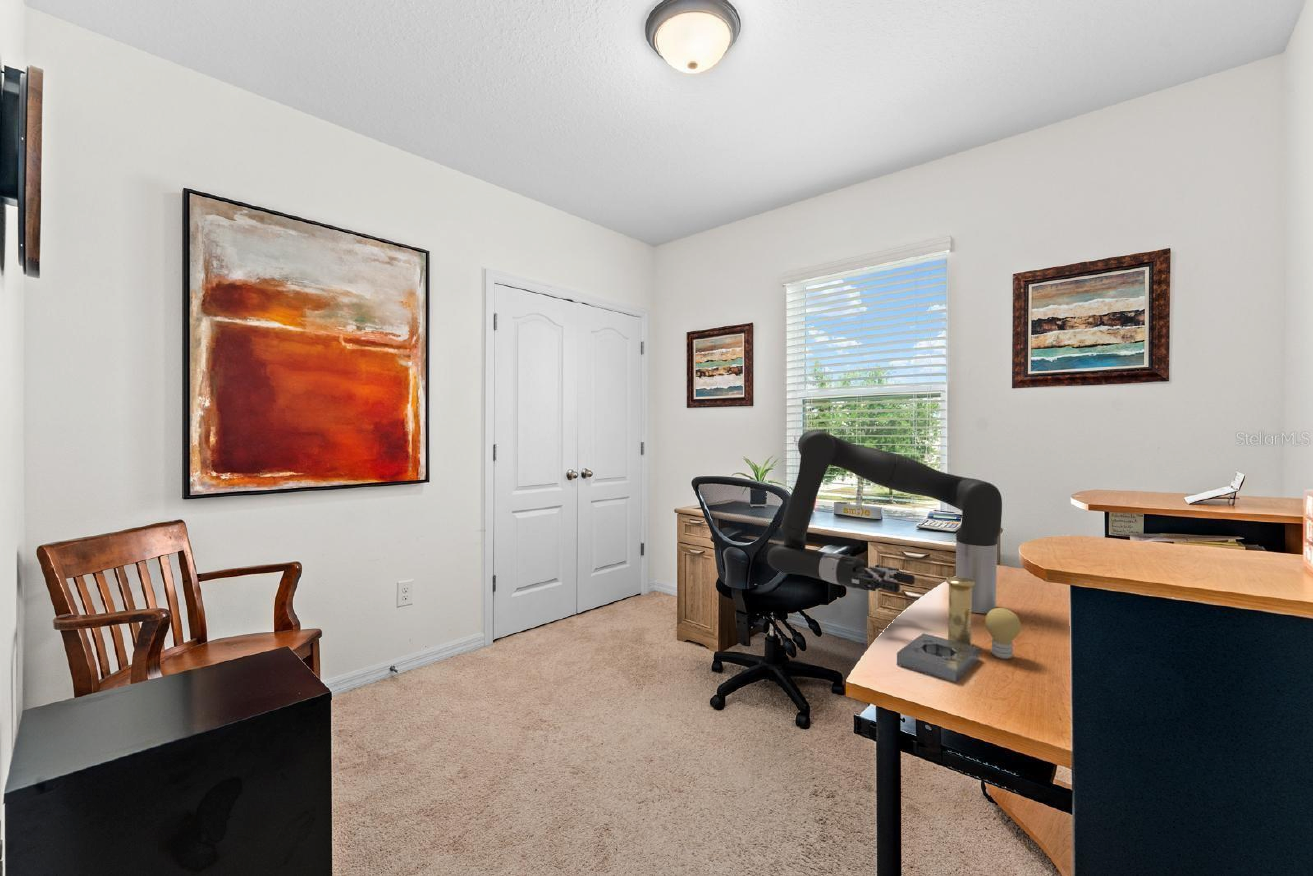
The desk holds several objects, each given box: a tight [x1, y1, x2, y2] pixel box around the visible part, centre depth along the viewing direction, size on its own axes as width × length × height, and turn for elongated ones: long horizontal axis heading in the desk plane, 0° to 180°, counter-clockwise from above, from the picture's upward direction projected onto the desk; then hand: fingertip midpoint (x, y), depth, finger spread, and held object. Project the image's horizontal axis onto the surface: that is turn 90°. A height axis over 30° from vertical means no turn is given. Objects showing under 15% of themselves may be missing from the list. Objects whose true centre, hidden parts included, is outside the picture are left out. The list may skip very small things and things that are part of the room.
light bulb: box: [984, 607, 1022, 660], centre depth 117 cm, size 6×6×10 cm
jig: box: [896, 632, 980, 684], centre depth 115 cm, size 14×11×2 cm
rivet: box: [945, 576, 975, 646], centre depth 124 cm, size 6×6×14 cm
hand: (906, 584), depth 132 cm, fingers open, 8 cm apart
